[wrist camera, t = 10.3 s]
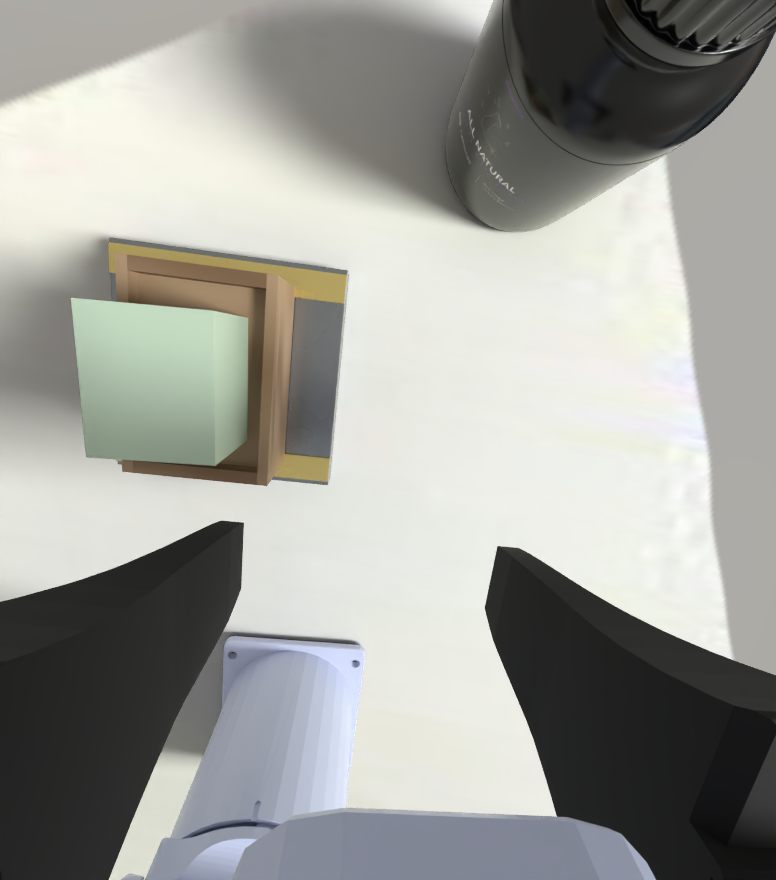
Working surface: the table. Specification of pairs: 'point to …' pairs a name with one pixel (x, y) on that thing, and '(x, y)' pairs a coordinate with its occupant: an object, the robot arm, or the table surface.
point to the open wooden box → (268, 353)
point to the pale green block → (161, 381)
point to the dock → (310, 352)
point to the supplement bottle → (591, 96)
